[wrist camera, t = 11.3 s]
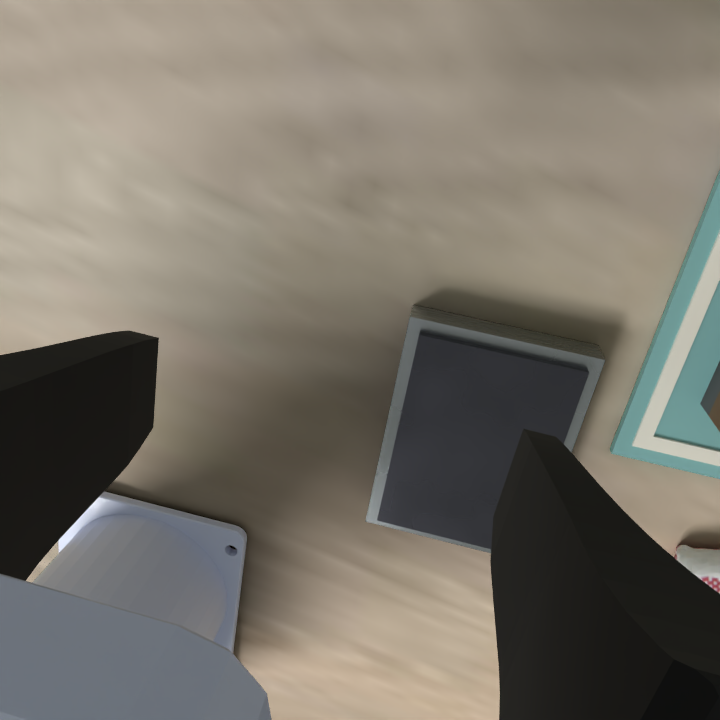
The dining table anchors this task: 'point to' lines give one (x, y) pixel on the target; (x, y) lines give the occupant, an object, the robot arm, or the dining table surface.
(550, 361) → the ink pad
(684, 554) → the dish towel
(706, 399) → the hand stamp
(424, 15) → the dining table surface
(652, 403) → the marked card
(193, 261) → the dining table surface
